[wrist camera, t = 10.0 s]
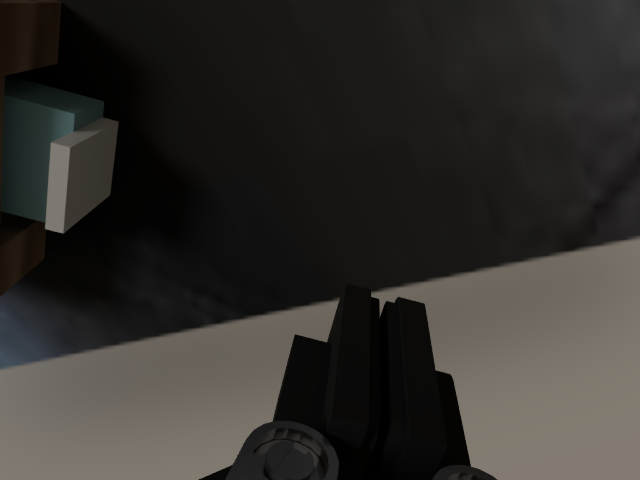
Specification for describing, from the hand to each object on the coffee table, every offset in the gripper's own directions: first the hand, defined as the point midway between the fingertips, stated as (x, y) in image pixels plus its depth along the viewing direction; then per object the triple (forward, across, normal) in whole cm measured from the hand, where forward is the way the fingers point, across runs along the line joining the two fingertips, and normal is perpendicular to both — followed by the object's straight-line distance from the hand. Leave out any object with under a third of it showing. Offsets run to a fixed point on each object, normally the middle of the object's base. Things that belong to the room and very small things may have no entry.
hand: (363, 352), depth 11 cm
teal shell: (+23, +23, +6) cm, 33 cm away
